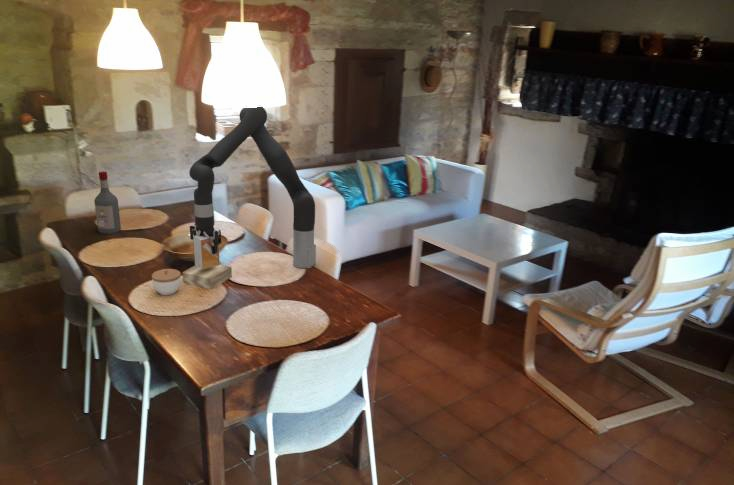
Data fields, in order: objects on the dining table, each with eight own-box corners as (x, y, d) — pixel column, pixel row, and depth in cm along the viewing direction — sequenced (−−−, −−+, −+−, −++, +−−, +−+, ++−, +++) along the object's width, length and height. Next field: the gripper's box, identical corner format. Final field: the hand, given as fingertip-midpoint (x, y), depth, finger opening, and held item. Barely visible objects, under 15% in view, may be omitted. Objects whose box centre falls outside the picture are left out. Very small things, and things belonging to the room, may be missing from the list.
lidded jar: (152, 299, 221) (150, 276, 218) (154, 287, 231) (152, 265, 227) (181, 296, 224) (180, 274, 221) (182, 285, 234) (180, 264, 230)
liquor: (113, 234, 283) (105, 175, 273) (95, 232, 284) (88, 173, 274) (123, 228, 292) (116, 171, 281) (106, 227, 293) (99, 169, 282)
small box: (202, 270, 233) (200, 240, 228) (194, 265, 237) (192, 235, 232) (220, 265, 238) (218, 235, 234) (212, 260, 242) (210, 231, 238)
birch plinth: (231, 277, 244) (231, 266, 242) (211, 290, 231) (211, 278, 230) (204, 271, 248) (203, 260, 246) (183, 283, 236) (182, 272, 234)
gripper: (224, 214, 230) (226, 252, 236) (196, 208, 235) (198, 245, 241) (212, 219, 224) (214, 258, 229) (183, 213, 229) (186, 251, 235)
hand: (206, 251), depth 235 cm, fingers closed on small box, 7 cm apart
